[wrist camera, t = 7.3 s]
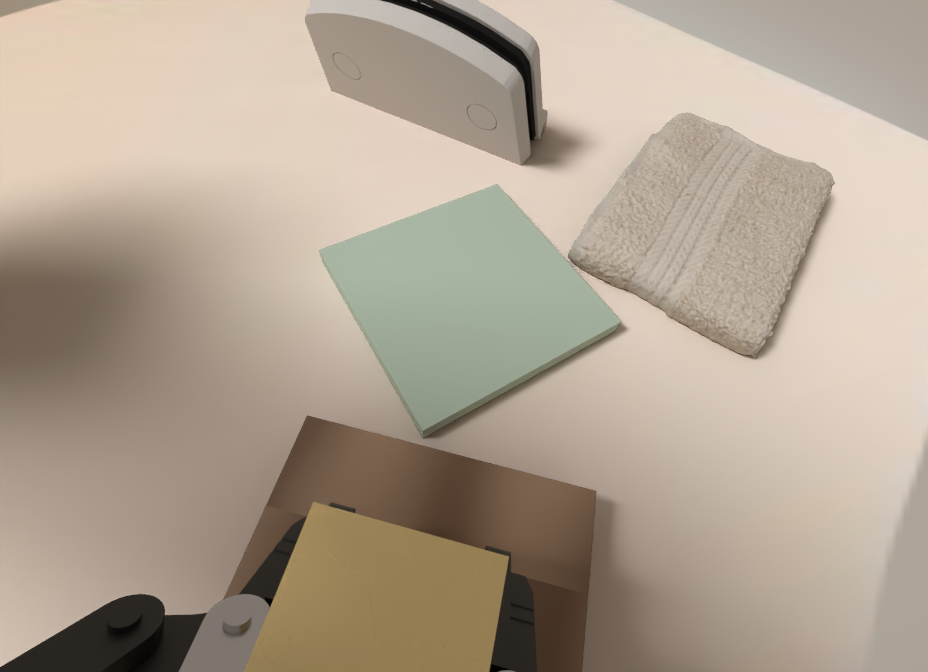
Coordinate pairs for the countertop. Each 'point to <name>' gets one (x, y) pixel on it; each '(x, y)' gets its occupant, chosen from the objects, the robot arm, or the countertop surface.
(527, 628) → the robot arm
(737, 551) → the countertop surface
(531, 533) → the socket base
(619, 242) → the washcloth
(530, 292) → the mat
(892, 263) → the countertop surface
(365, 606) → the peg
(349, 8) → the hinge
